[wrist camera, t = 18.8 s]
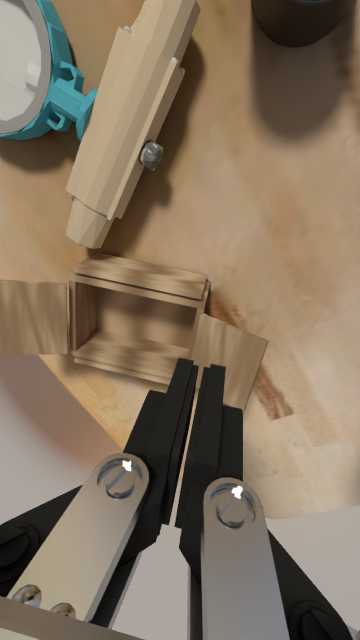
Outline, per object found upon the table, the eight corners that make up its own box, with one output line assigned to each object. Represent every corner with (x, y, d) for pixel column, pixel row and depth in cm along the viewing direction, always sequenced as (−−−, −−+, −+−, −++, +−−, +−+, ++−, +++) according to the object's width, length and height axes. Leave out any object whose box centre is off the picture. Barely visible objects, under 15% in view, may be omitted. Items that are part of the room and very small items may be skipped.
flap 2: (186, 382, 40) (242, 413, 36) (200, 314, 35) (266, 343, 32) (188, 380, 40) (244, 410, 37) (203, 313, 35) (268, 340, 32)
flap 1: (66, 285, 36) (-11, 281, 34) (67, 354, 41) (0, 354, 39) (66, 283, 37) (-9, 279, 35) (67, 351, 41) (1, 351, 39)
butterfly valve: (-56, 139, 42) (124, 258, 42) (-110, 130, 36) (99, 270, 36) (-19, -137, 30) (235, 30, 30) (-94, -221, 24) (226, -10, 24)
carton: (211, 274, 42) (207, 296, 35) (193, 358, 48) (186, 389, 42) (95, 250, 43) (68, 266, 36) (92, 335, 50) (69, 361, 43)
